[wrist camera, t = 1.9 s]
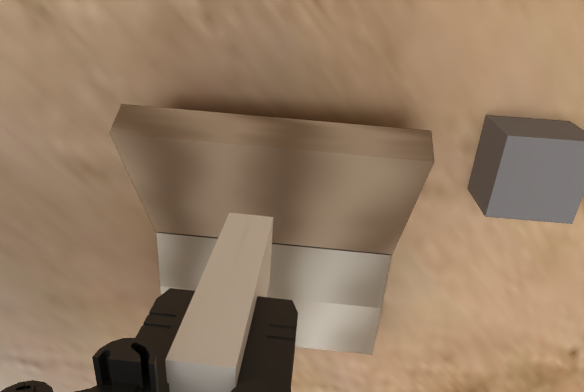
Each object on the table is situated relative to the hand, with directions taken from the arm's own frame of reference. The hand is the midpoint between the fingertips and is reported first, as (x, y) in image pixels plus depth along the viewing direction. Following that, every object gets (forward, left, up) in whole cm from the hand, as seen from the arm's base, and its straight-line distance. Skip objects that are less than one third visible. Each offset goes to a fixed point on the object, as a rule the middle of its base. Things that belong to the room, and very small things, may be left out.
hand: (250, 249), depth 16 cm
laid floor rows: (0, -12, -15) cm, 19 cm away
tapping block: (+15, -1, -15) cm, 21 cm away
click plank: (0, -2, -12) cm, 12 cm away
